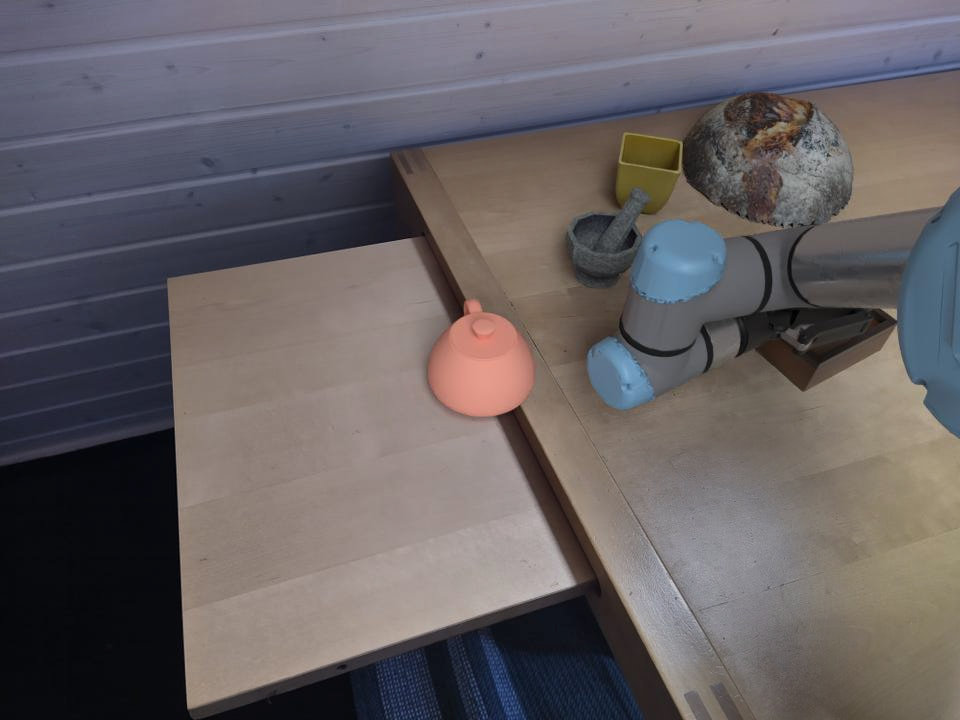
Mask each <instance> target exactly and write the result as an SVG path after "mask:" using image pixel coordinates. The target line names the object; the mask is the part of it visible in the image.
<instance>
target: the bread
mask: <svg viewBox="0 0 960 720" xmlns="http://www.w3.org/2000/svg"><path fill="white" fill-rule="evenodd" d="M683 143H684V144H683V147H682V149H683V152H684V155H683V156H684V157H683V160H682V164H683V172H684V173H685V174H684V175H685V177H686V178H687V179H686V182H687V183H688V184H690V186H691V187H693V188H695V189H696V190H698V191H699V192H701V193H702V194H703V195H704V196H706V198H709V201H711V202H712V204H713V205H714V206H718V207H719V206H721V204H723V207H725V208H726V209H727V211H728V212H729V213H732V214H734V215H736V213H737V212H738V213H739V215H740V218H741V219H744V218H745V217H746V216H747V217H748V220H749V221H750V222H755V221H756V223H757V224H759V223H760V222H763V224H764V225H766V224H767V223H768V225H770V226H773V225H774V224H775V227H781V225H782V227H783V229H786V228H787V226H789V225H790V224H792V228H794V227H798V226H799V224H800V225H801V224H802V225H808V224H812V223H829V222H831V220H832V216H833V215H835V216H838V215H839V214H840V211H841V209H842V208H843V210H845V209H846V207H847V206H846V205H847V204H849V201H850V199H851V196H852V194H853V181H854V174H855V167H854V163H853V157H852V153H851V149H850V147H849V146H848V143H847V141H846V139H845V137H844V134H843V133H842V132H841V130H840V129H839V127H837V125H836V124H835V122H834V121H832V120H831V118H830V117H829V116H828V115H827V114H826V113H825V112H824V111H822V109H821V108H820V107H819V106H818V105H817V104H816V103H813V102H812V101H809V100H803V99H796V98H792V97H789V96H783V95H780V94H778V93H773V92H762V91H756V92H755V91H754V92H746V93H742V94H738V95H734V96H732V97H730V98H728V99H725V100H723V101H721V102H720V103H717V104H716V105H714V106H713V107H712V108H711V109H709V111H706V113H704V115H703V116H702V117H701V118H700V119H699V120H698V121H697V123H696V124H694V126H693V127H692V128H691V131H689V133H688V135H686V137H685V138H684V141H683Z"/></svg>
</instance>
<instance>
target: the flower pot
mask: <svg viewBox="0 0 960 720" xmlns="http://www.w3.org/2000/svg"><path fill="white" fill-rule="evenodd" d="M683 143H684V142H683V141H682V140H678V139H673V138H666V137H660V136H654V135H647V134H641V133H636V132H635V133H634V132H623V134H622V139H621V146H620V152H619V156H618V161H617V169H616V181H615V196H616V201H617V203H618V206H619V208H620V209H622V207H623V206H624V204H625V203H626V202H627V200H628V199H629V197H630V192H631V191H632V189H633V188H639V189H641V190H643V191H645V192H646V193H648V194H649V195H650V197H651V200H650V201H649V203H648V204H646V205H645V206H644V208H643V209H642V211H641V213H643V214H648V215H655V214H656V213H658V212H659V211H660V210H661V209H662V208H663V207H665V205H666V204H667V203H668V201H669V200H670V198H671V196H672V193H673V191H674V189H675V187H676V184H677V183H678V180H679V177H680V175H681V172H682V163H683V160H682V159H683V147H684V144H683Z"/></svg>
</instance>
